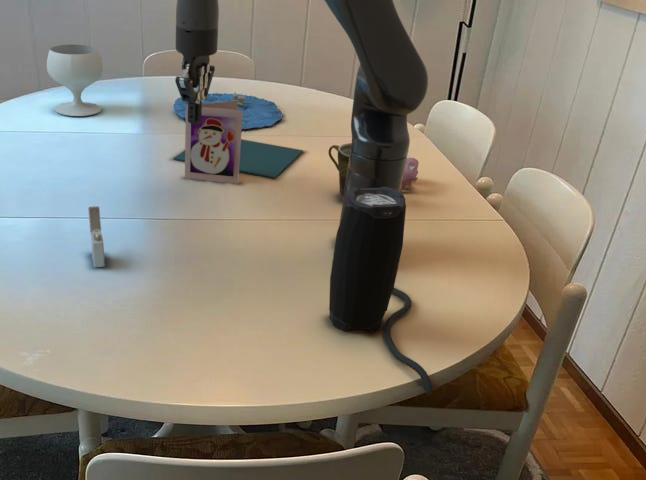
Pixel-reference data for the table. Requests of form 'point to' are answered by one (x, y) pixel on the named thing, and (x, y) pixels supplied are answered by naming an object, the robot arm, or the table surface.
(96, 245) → the lighter
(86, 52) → the chalice
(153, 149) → the table surface
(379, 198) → the portable speaker
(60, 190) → the table surface
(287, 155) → the placemat
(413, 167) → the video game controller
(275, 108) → the decorative plate
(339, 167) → the ceramic cup
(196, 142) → the greeting card
